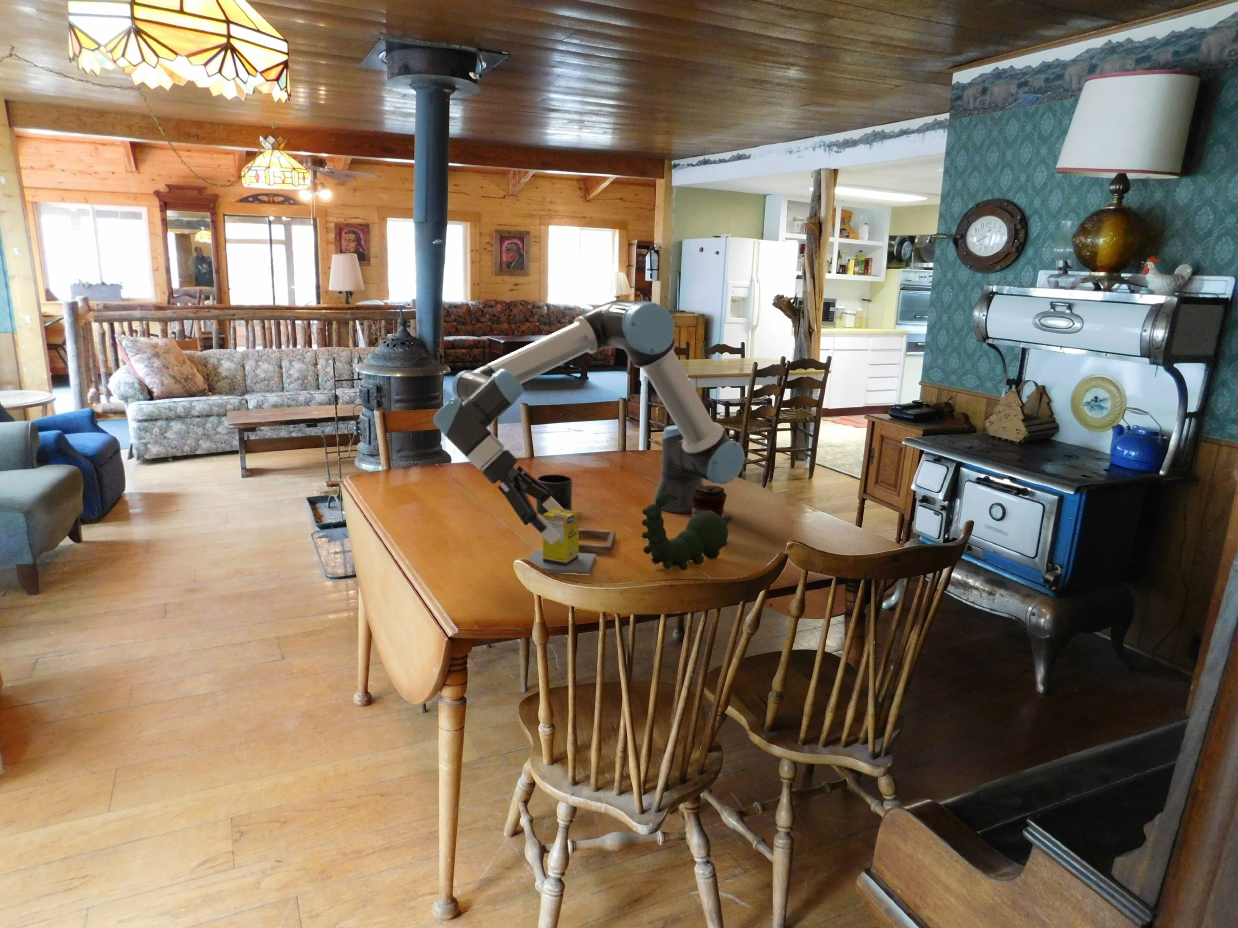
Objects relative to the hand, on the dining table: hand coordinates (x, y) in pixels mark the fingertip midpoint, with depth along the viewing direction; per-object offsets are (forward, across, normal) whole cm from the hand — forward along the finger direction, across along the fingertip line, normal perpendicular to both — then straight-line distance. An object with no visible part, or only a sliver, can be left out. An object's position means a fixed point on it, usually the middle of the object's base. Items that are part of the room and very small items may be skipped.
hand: (561, 530), depth 172 cm
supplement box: (+5, 0, -5) cm, 7 cm away
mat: (+6, 0, -6) cm, 8 cm away
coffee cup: (+28, -24, +17) cm, 41 cm away
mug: (0, -39, -12) cm, 41 cm away
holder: (+8, -14, -3) cm, 17 cm away
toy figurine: (+26, -6, +14) cm, 30 cm away
